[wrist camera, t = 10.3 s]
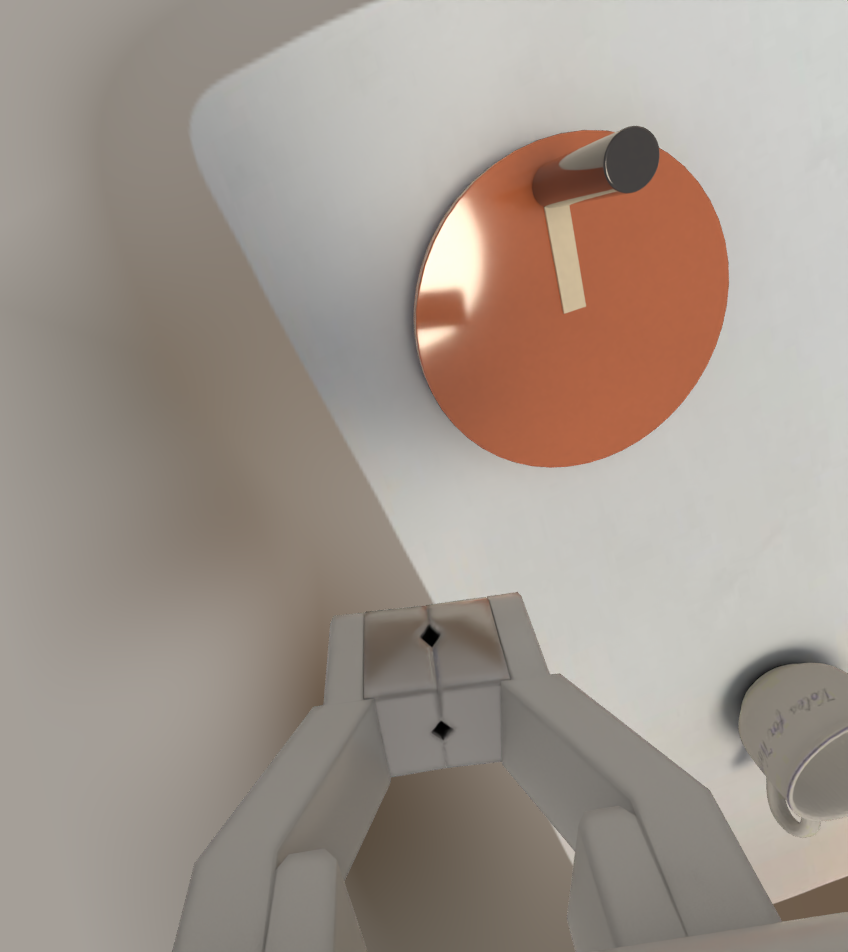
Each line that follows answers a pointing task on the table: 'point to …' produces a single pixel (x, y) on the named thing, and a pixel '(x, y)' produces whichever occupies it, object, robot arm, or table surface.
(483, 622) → the robot arm
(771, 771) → the teacup
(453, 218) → the orange turntable with peg
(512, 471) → the table surface
